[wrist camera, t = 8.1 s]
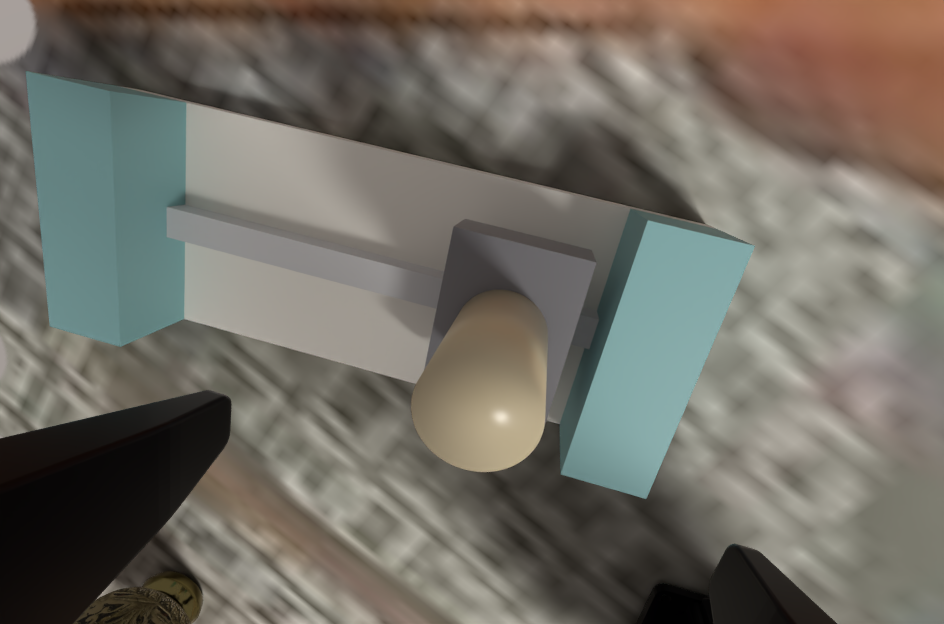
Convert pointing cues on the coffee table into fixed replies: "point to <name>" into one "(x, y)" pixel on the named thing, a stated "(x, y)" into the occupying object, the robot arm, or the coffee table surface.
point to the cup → (148, 603)
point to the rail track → (357, 256)
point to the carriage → (498, 344)
